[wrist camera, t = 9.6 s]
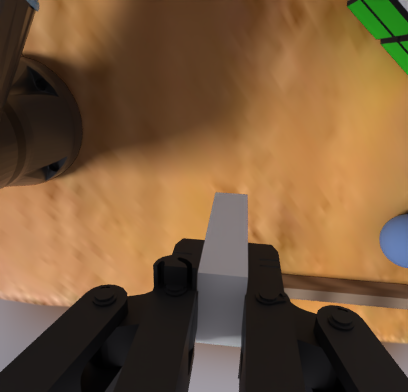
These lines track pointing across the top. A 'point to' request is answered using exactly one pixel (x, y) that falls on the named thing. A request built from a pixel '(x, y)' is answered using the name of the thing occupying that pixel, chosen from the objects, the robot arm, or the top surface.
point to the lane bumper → (346, 291)
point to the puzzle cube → (386, 25)
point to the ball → (396, 240)
